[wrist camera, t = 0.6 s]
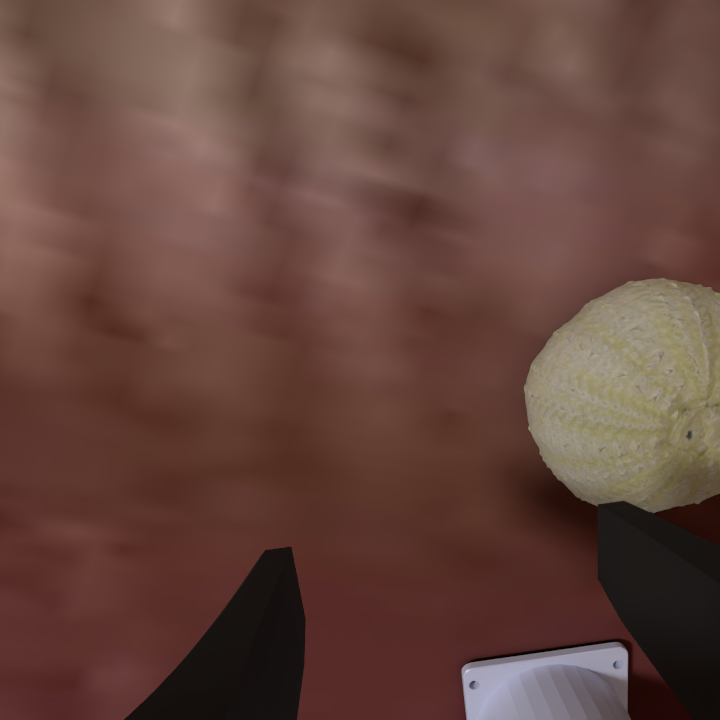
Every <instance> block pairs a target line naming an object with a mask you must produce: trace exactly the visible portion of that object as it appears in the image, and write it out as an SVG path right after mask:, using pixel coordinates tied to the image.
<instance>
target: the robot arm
mask: <svg viewBox="0 0 720 720" xmlns="http://www.w3.org/2000/svg"><path fill="white" fill-rule="evenodd" d="M598 579H599V581H600V583H601V585H602V587H603V589H604V590H605V592H606V594H607V596H608V598H609V600H610V602H611V603H612V605H613V607H614V609H615V610H616V612H617V614H618V615H619V617H620V619H621V621H622V622H623V624H624V625H625V626H626V628H627V629H628V631H629V632H630V634H631V635H632V636H633V638H634V639H635V640H636V642H637V643H638V645H639V646H640V647H641V649H642V650H643V652H644V653H645V654H646V656H647V657H648V659H649V660H650V661H651V663H652V664H653V665H654V667H655V668H656V670H657V671H658V672H659V674H660V675H661V676H662V678H663V679H664V680H665V682H666V683H667V685H668V686H669V687H670V689H671V690H672V691H673V693H674V694H675V696H676V697H677V698H678V700H679V701H680V702H681V704H682V705H683V707H684V708H685V709H686V711H687V712H688V713H689V715H690V716H691V718H692V719H693V720H720V546H718V545H716V544H714V543H712V542H710V541H707V540H705V539H703V538H701V537H699V536H697V535H695V534H693V533H691V532H689V531H687V530H685V529H683V528H681V527H679V526H677V525H675V524H673V523H671V522H669V521H666V520H664V519H662V518H660V517H658V516H656V515H654V514H652V513H650V512H648V511H646V510H644V509H642V508H639V507H637V506H635V505H633V504H630V503H628V502H626V501H619V502H611V503H604V504H598ZM304 655H305V614H304V609H303V604H302V599H301V594H300V589H299V584H298V579H297V574H296V568H295V563H294V558H293V553H292V548H291V547H286V548H278V549H271V550H265V551H264V553H263V554H262V555H261V557H260V558H259V560H258V561H257V562H256V564H255V565H254V567H253V568H252V570H251V571H250V573H249V574H248V576H247V577H246V579H245V580H244V582H243V583H242V584H241V586H240V587H239V589H238V590H237V592H236V593H235V594H234V596H233V597H232V599H231V600H230V601H229V603H228V604H227V605H226V607H225V608H224V610H223V611H222V612H221V614H220V615H219V616H218V618H217V619H216V620H215V622H214V623H213V624H212V625H211V627H210V628H209V629H208V630H207V632H206V633H205V634H204V635H203V637H202V638H201V639H200V640H199V642H198V643H197V644H196V645H195V647H194V648H193V649H192V650H191V651H190V653H189V654H188V655H187V656H186V657H185V658H184V660H183V661H182V662H181V663H180V664H179V665H178V667H177V668H176V669H175V670H174V671H173V672H172V673H171V674H170V675H169V676H168V677H167V678H166V679H165V680H164V681H163V682H162V684H161V685H160V686H159V687H158V688H157V689H156V690H155V691H154V692H153V693H152V694H151V695H150V696H149V697H148V698H147V699H146V700H145V701H144V702H143V703H142V704H140V705H139V706H138V707H137V708H136V709H135V710H134V711H133V712H132V713H131V714H130V715H129V716H128V717H126V718H125V719H124V720H297V714H298V707H299V699H300V692H301V685H302V677H303V670H304ZM472 681H475V682H472ZM462 682H463V691H464V701H465V710H466V720H631V718H630V716H629V715H628V651H627V650H626V648H625V647H624V645H623V644H622V643H619V642H611V643H604V644H597V645H590V646H583V647H576V648H569V649H562V650H555V651H548V652H541V653H534V654H527V655H520V656H513V657H506V658H499V659H492V660H485V661H478V662H471V663H467V664H466V665H465V666H464V667H463V668H462Z"/></svg>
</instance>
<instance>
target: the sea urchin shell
mask: <svg viewBox="0 0 720 720" xmlns="http://www.w3.org/2000/svg"><path fill="white" fill-rule="evenodd" d="M524 392H525V402H526V407H527V415H528V422H529V428H528V429H529V430H530V431H531V433H532V436H533V438H534V440H535V442H536V444H537V445H538V447H539V449H540V455H541V456H542V457H543V461H544V462H545V463H546V465H547V468H550V469H551V470H552V472H553V474H554V475H555V476H556V478H557V479H558V480H560V481H562V482H563V483H564V485H565V486H566V487H567V488H568V489H569V490H570V491H571V492H572V493H573V494H574V495H575V496H576V497H577V498H581V500H582V501H587V502H588V503H591V504H593V505H596V506H597V507H598V504H604V503H611V502H619V501H626V502H628V503H630V504H633V505H635V506H637V507H639V508H642V509H644V510H646V511H648V512H652V513H655V512H658V511H662V510H665V509H670V508H672V507H676V506H682V507H683V506H685V505H688V504H692V503H696V504H699V503H700V502H701V501H704V500H705V499H706V498H709V497H712V496H714V495H717V494H720V294H719V293H717V292H715V291H713V290H712V288H711V287H706V288H704V287H703V286H702V285H701V284H699V285H694V284H690V283H686V282H679V281H676V280H666V279H664V278H659V279H648V280H642V281H629V282H627V283H626V284H625V285H622V286H620V287H617V288H616V289H614V290H612V291H610V292H608V293H607V294H605V295H603V296H601V297H599V298H597V299H595V300H591V301H590V302H589V303H587V304H586V305H585V306H584V307H583V308H582V309H581V311H580V312H579V313H578V314H577V315H575V316H574V317H573V318H572V319H571V320H570V321H569V322H567V323H565V324H564V325H563V326H562V327H561V328H560V329H558V330H556V331H555V332H553V336H552V337H551V338H550V339H549V340H548V341H547V343H546V345H545V347H544V348H543V350H542V351H541V352H540V353H539V354H538V355H537V356H536V358H535V359H534V361H533V362H532V364H531V366H530V371H529V374H528V376H527V379H526V384H525V385H524Z"/></svg>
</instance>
